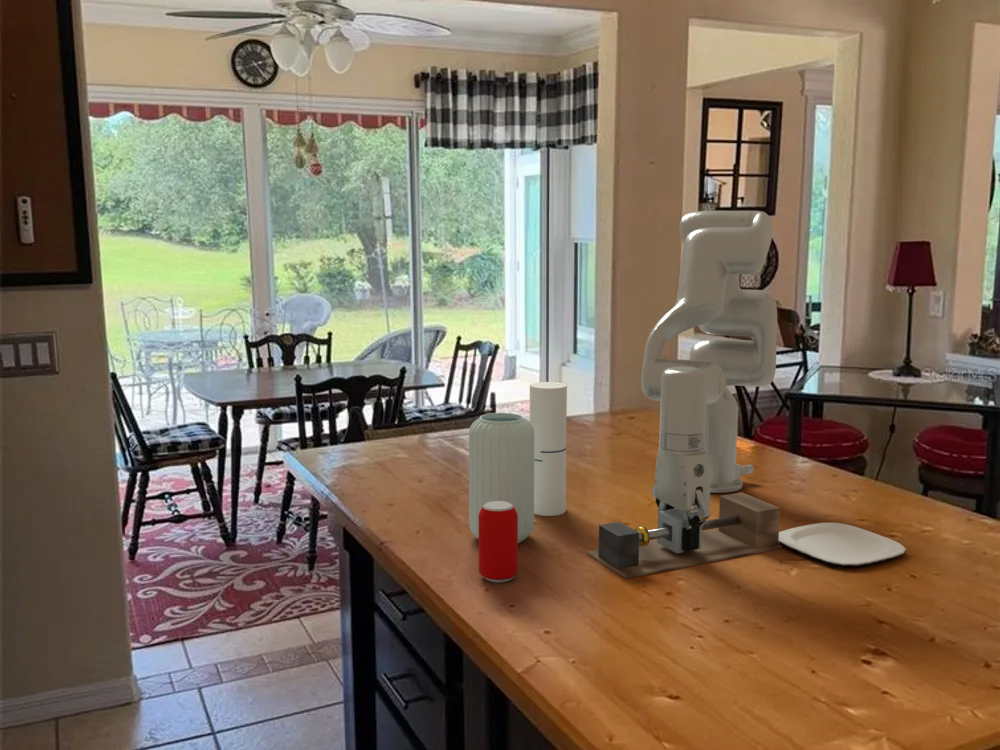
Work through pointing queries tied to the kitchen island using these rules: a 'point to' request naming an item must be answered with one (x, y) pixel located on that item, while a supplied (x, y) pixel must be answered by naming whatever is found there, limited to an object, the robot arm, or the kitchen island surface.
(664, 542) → the grey sliding block
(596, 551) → the slide base
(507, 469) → the vase
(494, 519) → the beverage can
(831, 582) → the kitchen island surface
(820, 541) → the plate
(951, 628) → the kitchen island surface
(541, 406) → the cylindrical container
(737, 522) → the metal rod
